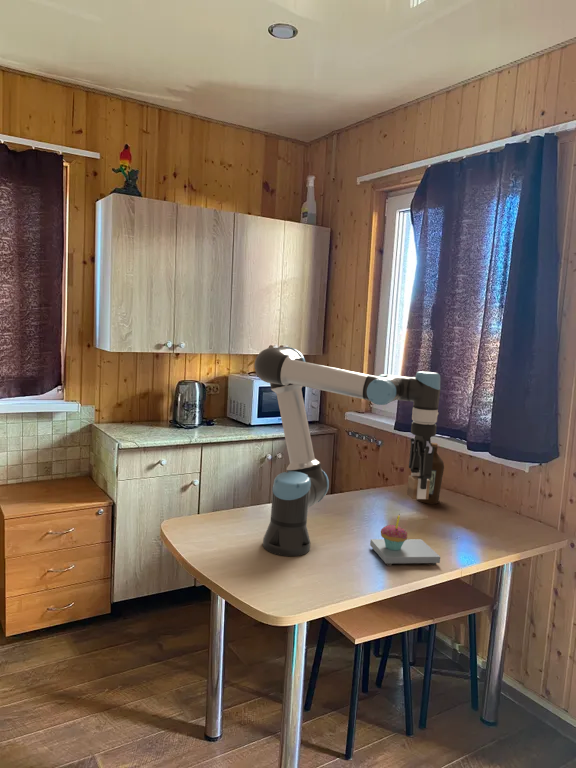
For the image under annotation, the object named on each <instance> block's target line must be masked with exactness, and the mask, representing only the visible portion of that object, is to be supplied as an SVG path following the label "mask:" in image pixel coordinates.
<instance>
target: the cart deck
mask: <svg viewBox="0 0 576 768" xmlns="http://www.w3.org/2000/svg"><path fill="white" fill-rule="evenodd" d="M369 542H370V543H369V545H370V547H371V548H372V551H374V552H375V553H376V554H377V555H378V557H380V558H381V560H382V561H383V562H384V565H385V566H388V567H389V566H390V567H391V566H392V564H429V565H430V566H437V564H440V562H441V556H440V555H439V554H438V553H437V552H436V551H435V550H434V549H433V548H432V547H431V546H430V545H428V543H426V542H425V541H424V540H423V539H421V538H420V539H417V538H415V539H414V538H413V539H409V538H407V540H405V541H404V543H403V545H402V547H401V549H400V550H396V551H395V550H390V549H388V548H386V546H385V541H384V538H381V539H380V538H373V539H370V541H369Z"/></svg>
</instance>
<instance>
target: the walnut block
mask: <svg viewBox="0 0 576 768" xmlns="http://www.w3.org/2000/svg"><path fill="white" fill-rule="evenodd" d="M418 477H420V476H411V475H408V480H407V481H408V482H407V490H406V494H407V496H408V497H409V498H411V499H412V500H417V498H416V497H417V486H418ZM429 486H430V480H429V479H427V490H426V499H428V497H429Z"/></svg>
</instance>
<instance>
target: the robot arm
mask: <svg viewBox="0 0 576 768" xmlns="http://www.w3.org/2000/svg"><path fill="white" fill-rule="evenodd" d="M254 371H255V374H256V376H258V378H259V379H260V380H261V381H263V382H265V383H267V384H270V390H271V391H272V392H273V393H275V394H276V397H277V403H278V408H279V412H280V418H281V424H282V428H283V429H282V430H283V433H284V440H285V444H286V449H287V453H288V454H287V455H288V458H289V464H288V466H287V467H286V471H283V472H280V473H278V474H277V475H276V476H275V478H274V480H273V485H272V494H271V495H272V497H271V508H270V510H271V511H270V520H269V524H268V526H267V528H266V531H265V534H264V535H263V539H262V547H263V548H264V549H265V550H266V551H267V552H269V553H271V554H274V555H278V556H284V557H298V556H302V555H306V554H307V553H308V552H309V551H310V549H311V540H310V536H309V535H310V534H309V531H308V527H307V524H308V523H307V522H308V512H309V510H308V509H309V508H311V507H312V506H313V505H315V504H317V503H319V502H321V500H323V499H324V497H325V496H326V494H328V491H329V488H330V480H329V477H328V475H327V473H326V472H325V471H324V470H323V469H322V466H321V461H319V460H318V459H317V458H315V452H314V447H313V442H312V441H313V440H312V438H311V434H310V433H311V431H310V427H309V421H308V417H307V416H308V415H307V412H306V407H305V402H304V397H303V391H302V388H303V387H305V388H310V389H314V390H320V391H325V392H329V393H333V394H338V395H342V396H346V397H351V398H357V399H361V400H366V401H368V402H371V403H372V404H374V405H378V406H384V405H388V404H390V403H391V402H392V403H393V402H394V401H406V402H413V405H412V412H411V413H412V415H411V420H412V422H411V425H410V426H411V427H410V434H412V435H413V436H414V437H410V448H409V449H410V451H409V458H408V459H409V460H408V461H409V462H408V469H410V472H411V473H410V476H420V477H418V486H417V497H416V498H417V499H426V490H427V479H428V478H431V476H432V465H433V454H434V450H435V447H432V446H431V443H432V441H431V438H433V437H435V436H436V435H437V424H436V423H438V415H439V412H438V411H439V403H440V393H441V375H440V373H438V372H432V371H417V372H416V373H415V376H402V375H394V374H391V373H390V374H389V373H388V374H379V375H372V374H366V373H362V372H357V371H351V370H347V369H343V368H342V369H341V368H338V367H332V366H327V365H323V364H317V363H312V362H308V361H306V359H305V357H304V355H303V354H302V353H301V351H299V350H298V349H296V348H293V347H289V346H279V347H268V348H265V349H263V350H262V351H260V352H258V354H257V355H256V357H255V361H254ZM418 472H420V473H418ZM417 499H416V500H417Z"/></svg>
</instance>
